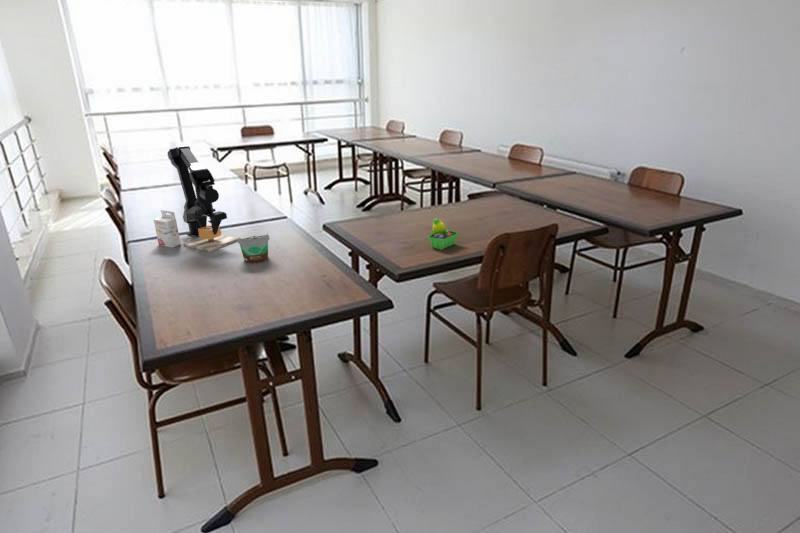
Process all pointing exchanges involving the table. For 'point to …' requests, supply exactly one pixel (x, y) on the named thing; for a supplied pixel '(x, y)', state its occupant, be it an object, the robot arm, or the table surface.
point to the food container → (254, 248)
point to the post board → (211, 242)
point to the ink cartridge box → (167, 229)
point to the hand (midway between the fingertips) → (210, 233)
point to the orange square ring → (208, 233)
